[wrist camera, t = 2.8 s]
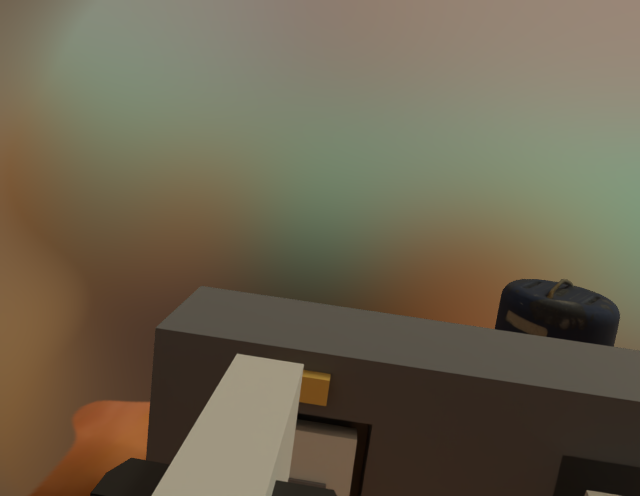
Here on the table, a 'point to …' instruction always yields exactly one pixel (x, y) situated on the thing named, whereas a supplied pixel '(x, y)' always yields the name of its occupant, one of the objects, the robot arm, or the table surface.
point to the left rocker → (323, 456)
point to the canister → (557, 312)
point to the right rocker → (598, 493)
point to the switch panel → (416, 395)
